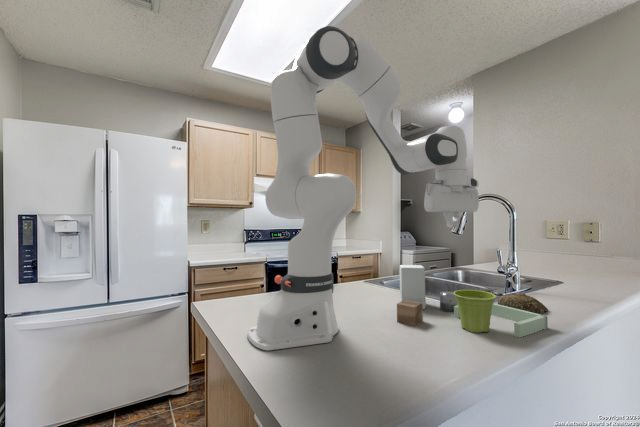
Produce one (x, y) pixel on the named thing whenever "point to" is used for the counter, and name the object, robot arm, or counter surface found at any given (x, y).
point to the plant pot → (475, 309)
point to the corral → (517, 319)
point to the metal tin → (447, 301)
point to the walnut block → (409, 312)
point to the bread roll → (522, 303)
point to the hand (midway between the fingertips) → (452, 227)
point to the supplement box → (412, 283)
